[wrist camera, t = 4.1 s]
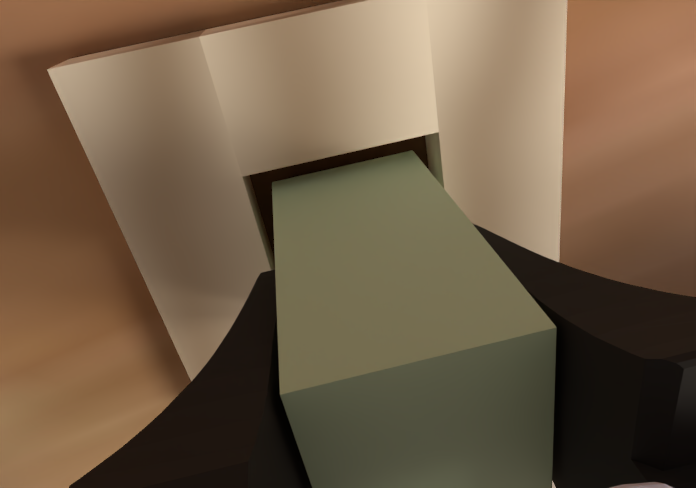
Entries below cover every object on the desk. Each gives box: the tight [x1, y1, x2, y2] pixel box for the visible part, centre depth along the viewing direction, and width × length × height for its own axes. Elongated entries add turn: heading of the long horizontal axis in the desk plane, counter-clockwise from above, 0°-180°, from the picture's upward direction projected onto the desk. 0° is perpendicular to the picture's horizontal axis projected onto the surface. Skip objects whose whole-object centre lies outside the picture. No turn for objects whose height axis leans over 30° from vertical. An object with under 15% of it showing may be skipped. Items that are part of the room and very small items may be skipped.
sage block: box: [272, 150, 557, 488], centre depth 12 cm, size 4×4×8 cm
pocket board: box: [47, 0, 567, 382], centre depth 15 cm, size 12×12×2 cm
